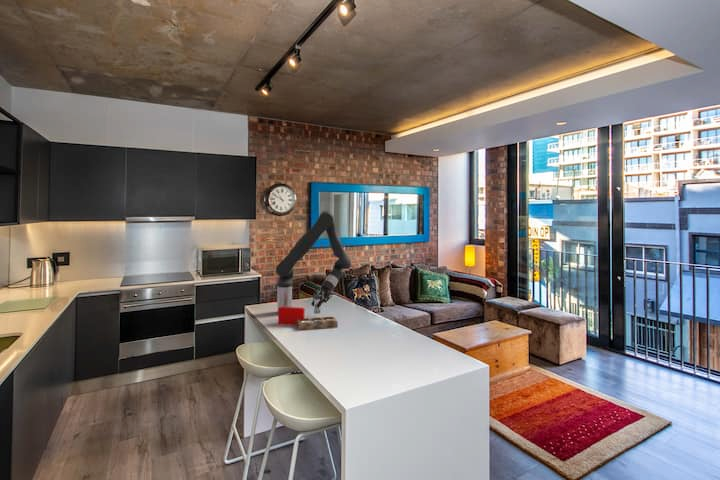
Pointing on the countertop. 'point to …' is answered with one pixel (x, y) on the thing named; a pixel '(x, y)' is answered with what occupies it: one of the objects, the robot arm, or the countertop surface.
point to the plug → (316, 300)
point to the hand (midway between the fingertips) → (314, 305)
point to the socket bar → (317, 323)
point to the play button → (290, 315)
